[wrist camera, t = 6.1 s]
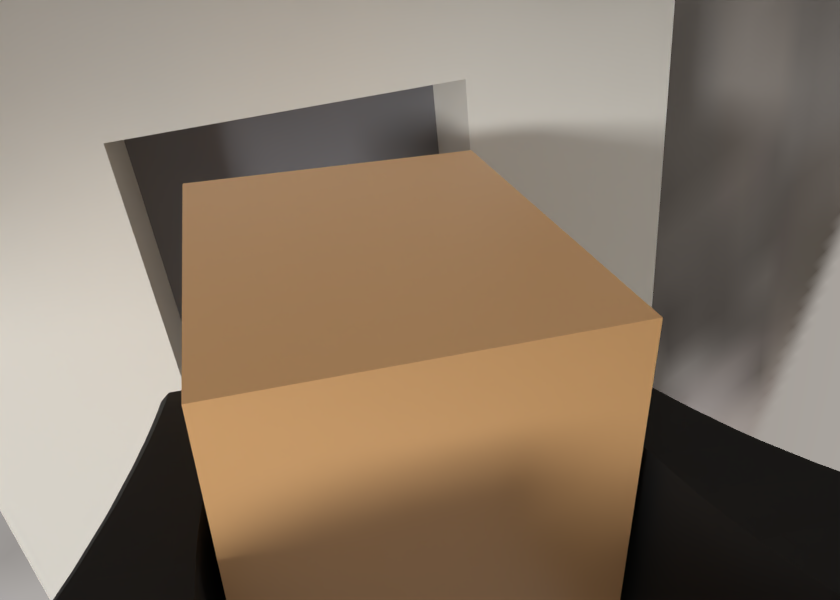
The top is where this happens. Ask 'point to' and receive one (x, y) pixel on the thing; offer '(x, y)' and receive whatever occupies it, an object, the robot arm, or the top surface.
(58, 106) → the white cutout panel
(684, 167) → the top surface
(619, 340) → the plug
